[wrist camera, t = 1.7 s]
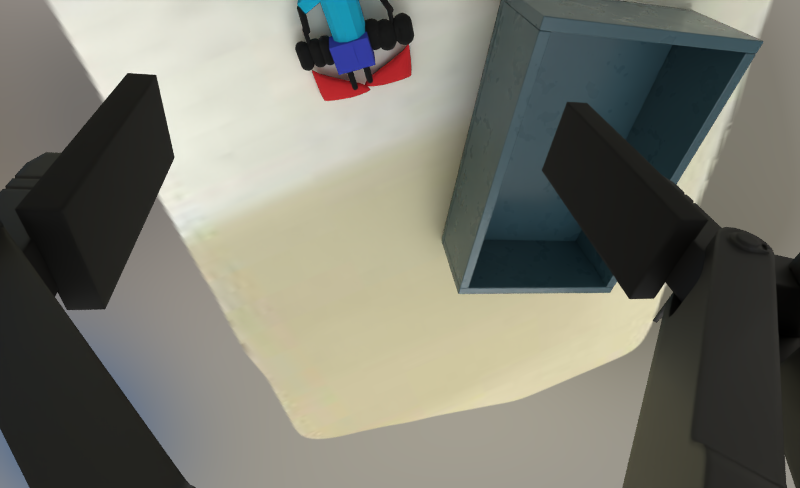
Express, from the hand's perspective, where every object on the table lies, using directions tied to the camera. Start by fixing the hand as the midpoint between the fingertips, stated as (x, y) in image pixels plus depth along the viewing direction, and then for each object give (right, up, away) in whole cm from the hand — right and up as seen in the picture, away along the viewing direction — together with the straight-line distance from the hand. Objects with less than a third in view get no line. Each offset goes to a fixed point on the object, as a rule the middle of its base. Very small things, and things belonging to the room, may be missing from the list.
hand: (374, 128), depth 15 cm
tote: (+12, +4, +21) cm, 24 cm away
